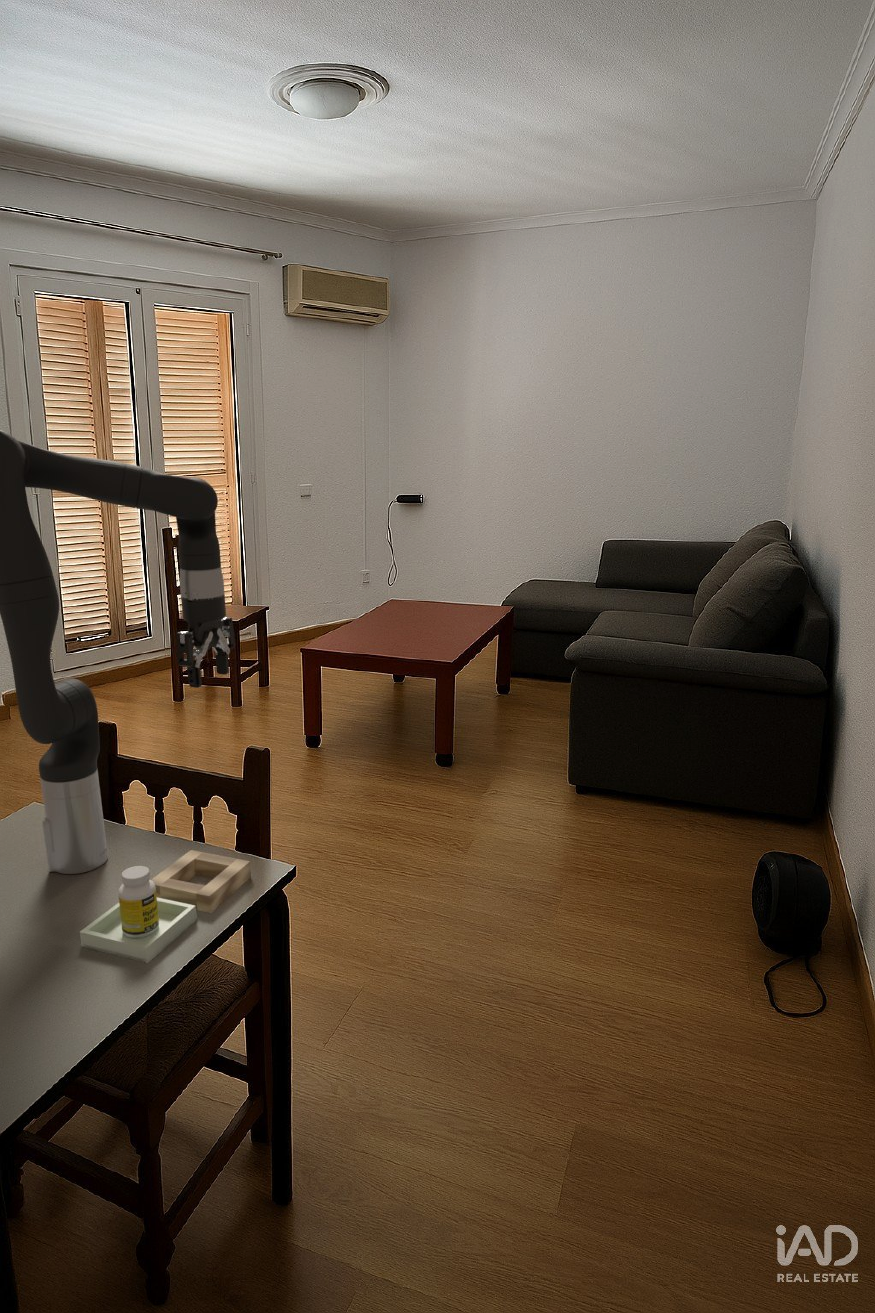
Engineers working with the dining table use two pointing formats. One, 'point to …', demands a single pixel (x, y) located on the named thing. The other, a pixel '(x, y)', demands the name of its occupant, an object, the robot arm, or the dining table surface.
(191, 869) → the holder block
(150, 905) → the supplement bottle
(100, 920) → the tray
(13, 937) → the dining table surface
